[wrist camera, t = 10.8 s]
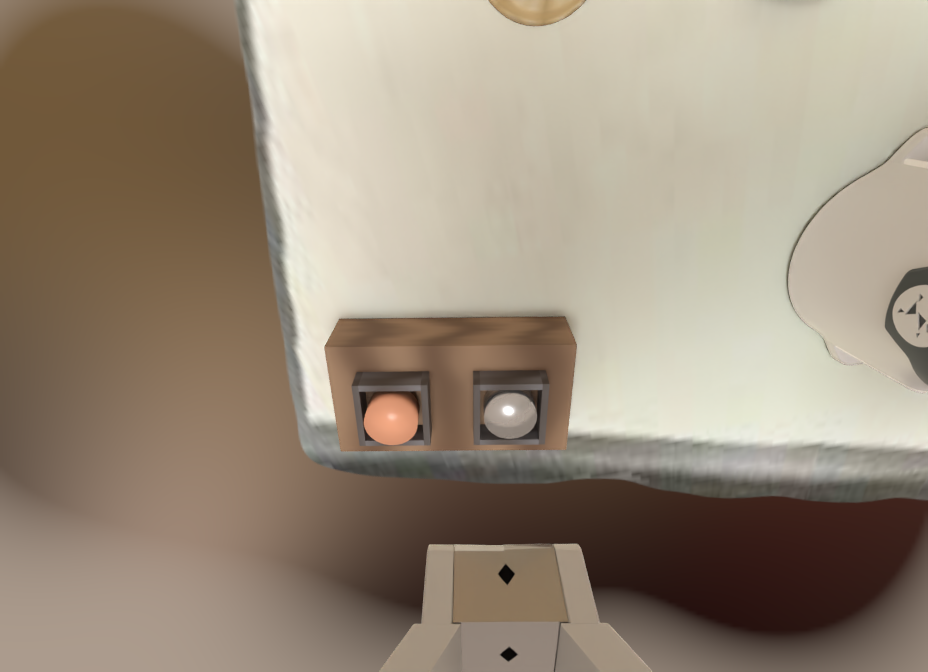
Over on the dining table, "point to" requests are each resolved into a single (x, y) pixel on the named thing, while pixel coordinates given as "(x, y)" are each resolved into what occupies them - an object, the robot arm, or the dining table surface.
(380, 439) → the terracotta button
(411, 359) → the button box
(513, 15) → the hand bell
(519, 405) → the steel button
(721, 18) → the dining table surface
